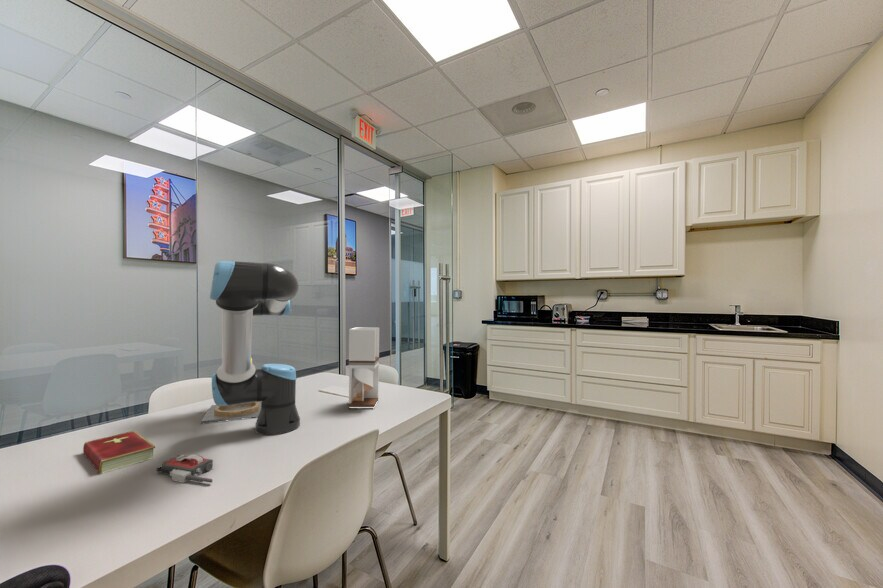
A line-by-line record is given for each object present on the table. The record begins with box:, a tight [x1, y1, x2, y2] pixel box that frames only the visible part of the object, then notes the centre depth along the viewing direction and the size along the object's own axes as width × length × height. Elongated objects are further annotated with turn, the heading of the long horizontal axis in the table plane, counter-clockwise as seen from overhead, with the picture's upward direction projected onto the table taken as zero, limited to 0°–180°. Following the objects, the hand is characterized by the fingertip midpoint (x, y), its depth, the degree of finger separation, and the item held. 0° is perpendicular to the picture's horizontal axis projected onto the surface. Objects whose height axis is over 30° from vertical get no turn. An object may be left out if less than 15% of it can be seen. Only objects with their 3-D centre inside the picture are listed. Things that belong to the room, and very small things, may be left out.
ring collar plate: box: [200, 402, 261, 425], centre depth 146 cm, size 22×22×2 cm
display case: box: [347, 327, 380, 408], centre depth 158 cm, size 11×11×35 cm
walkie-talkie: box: [156, 454, 214, 484], centre depth 95 cm, size 9×4×20 cm
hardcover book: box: [82, 430, 156, 475], centre depth 105 cm, size 12×21×4 cm, turn 54°
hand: (238, 381), depth 147 cm, fingers closed on tape roll, 10 cm apart
